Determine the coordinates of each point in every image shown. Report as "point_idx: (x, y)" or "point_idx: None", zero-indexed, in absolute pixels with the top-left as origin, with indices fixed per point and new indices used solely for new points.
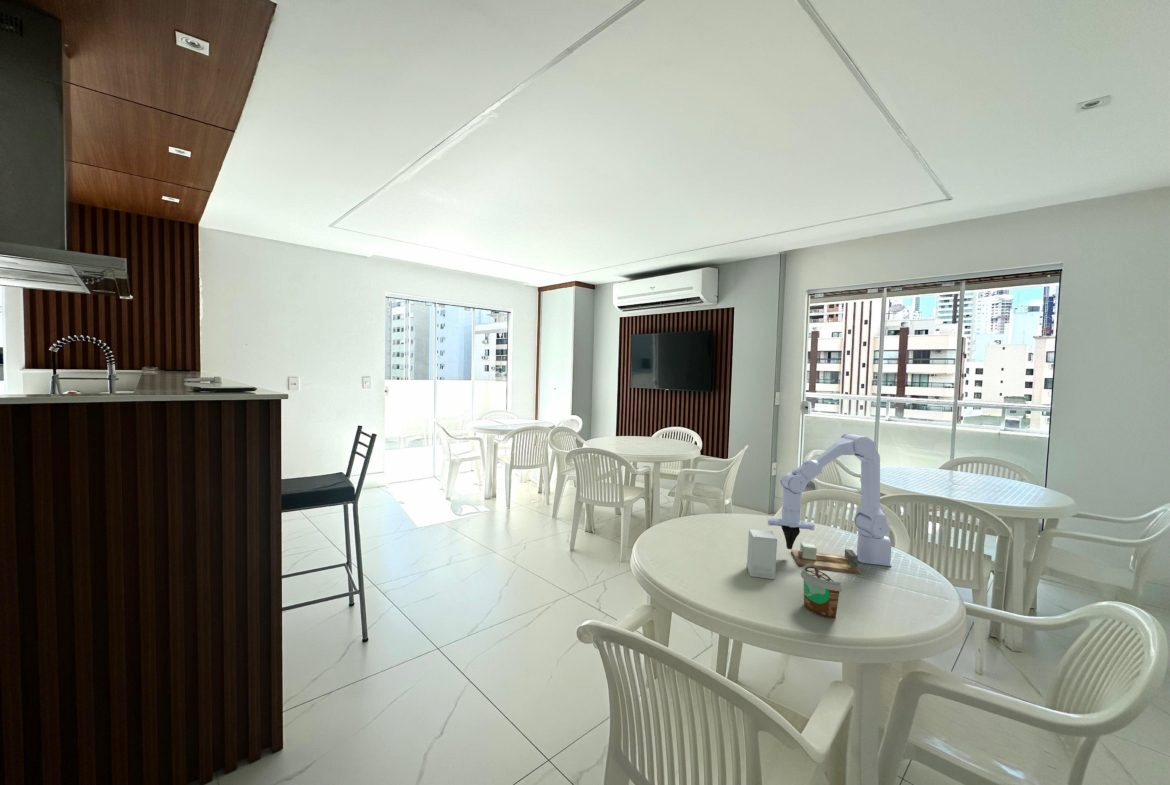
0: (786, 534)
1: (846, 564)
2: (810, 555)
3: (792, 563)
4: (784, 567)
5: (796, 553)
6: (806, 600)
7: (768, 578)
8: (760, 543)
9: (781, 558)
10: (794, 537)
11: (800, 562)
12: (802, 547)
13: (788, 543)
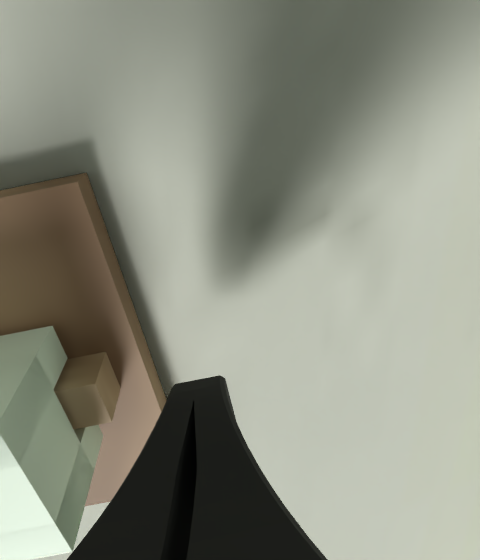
0: (276, 545)
1: None
2: None
3: (158, 216)
4: (237, 23)
5: (138, 427)
6: None
7: None
8: None
9: (271, 291)
10: (111, 534)
11: (62, 211)
12: (37, 447)
13: (217, 422)
